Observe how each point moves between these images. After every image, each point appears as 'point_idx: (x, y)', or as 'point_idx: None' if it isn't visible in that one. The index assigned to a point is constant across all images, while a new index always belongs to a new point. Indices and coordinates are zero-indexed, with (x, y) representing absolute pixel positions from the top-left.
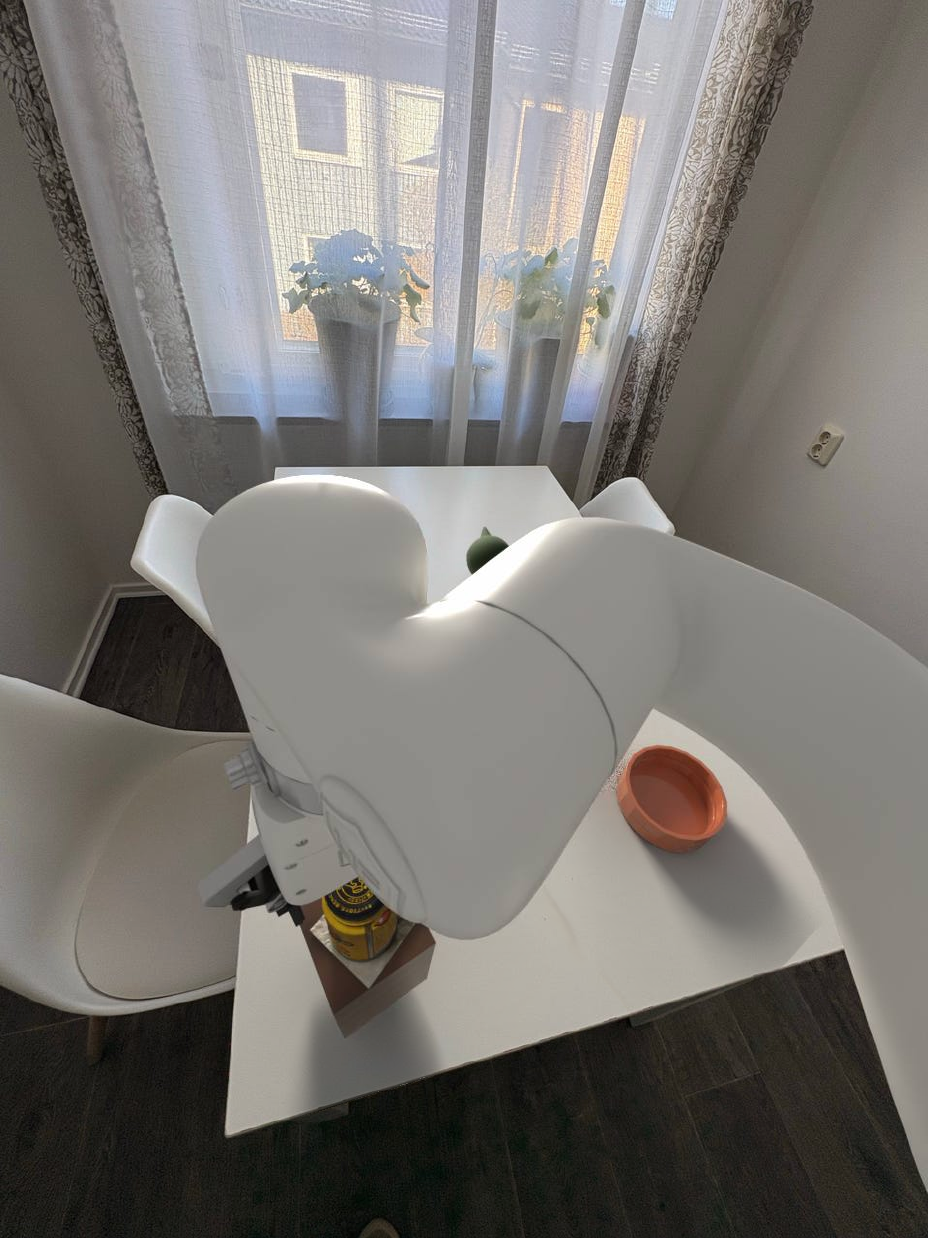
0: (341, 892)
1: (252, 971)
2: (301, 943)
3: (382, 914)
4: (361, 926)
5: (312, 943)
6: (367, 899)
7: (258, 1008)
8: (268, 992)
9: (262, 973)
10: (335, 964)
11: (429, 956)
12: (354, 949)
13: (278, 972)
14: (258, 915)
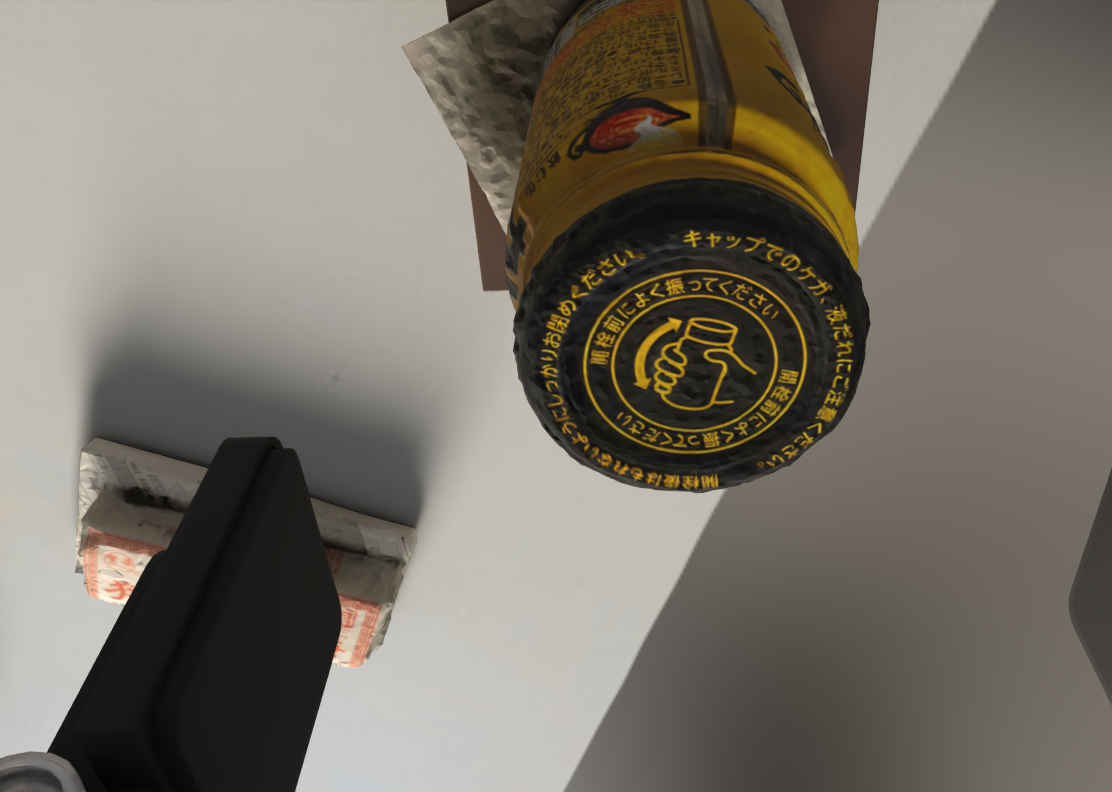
0: (789, 355)
1: (928, 102)
2: None
3: (629, 146)
4: (744, 147)
5: (846, 128)
6: (688, 270)
7: (954, 8)
8: (915, 32)
9: (908, 84)
10: (808, 23)
11: None
12: (762, 48)
13: (872, 66)
14: (857, 222)
